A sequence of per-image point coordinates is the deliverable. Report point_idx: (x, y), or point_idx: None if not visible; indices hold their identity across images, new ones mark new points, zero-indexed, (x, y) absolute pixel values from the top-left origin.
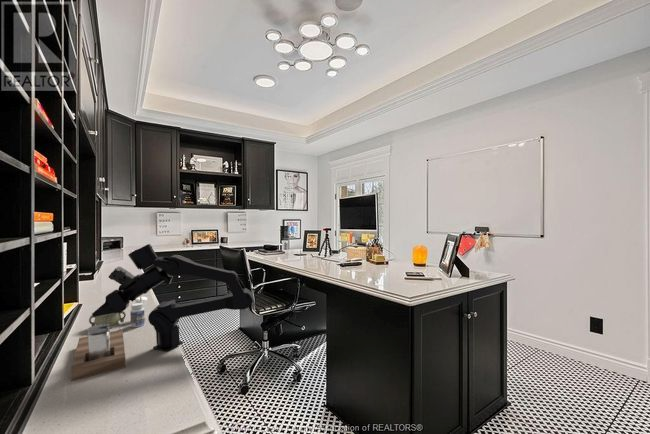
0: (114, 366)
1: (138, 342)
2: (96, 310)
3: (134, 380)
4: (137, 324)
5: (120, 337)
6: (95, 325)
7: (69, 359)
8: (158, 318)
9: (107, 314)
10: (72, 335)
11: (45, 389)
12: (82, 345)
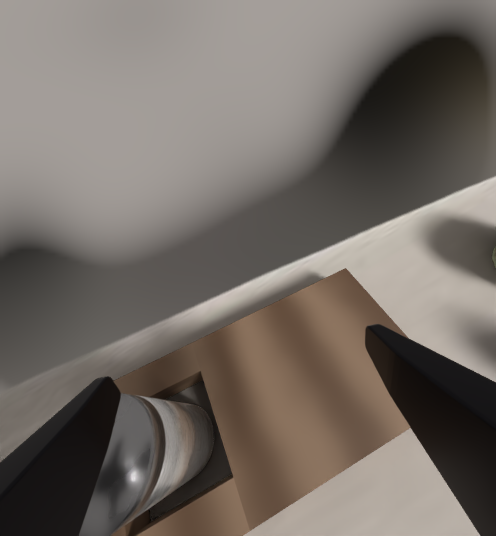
0: None
1: (395, 530)
2: (38, 432)
3: None
4: None
5: (352, 446)
6: (138, 412)
7: (253, 307)
8: None
9: None
10: (423, 215)
11: (86, 356)
12: (277, 317)
